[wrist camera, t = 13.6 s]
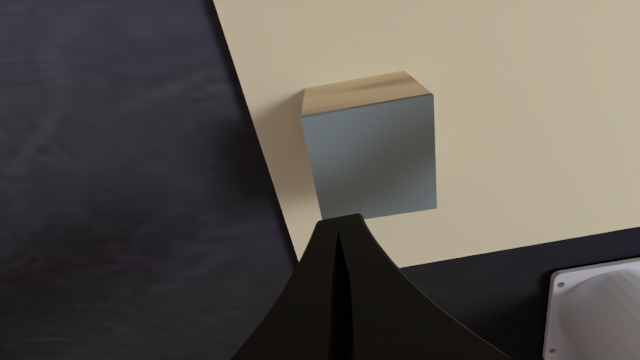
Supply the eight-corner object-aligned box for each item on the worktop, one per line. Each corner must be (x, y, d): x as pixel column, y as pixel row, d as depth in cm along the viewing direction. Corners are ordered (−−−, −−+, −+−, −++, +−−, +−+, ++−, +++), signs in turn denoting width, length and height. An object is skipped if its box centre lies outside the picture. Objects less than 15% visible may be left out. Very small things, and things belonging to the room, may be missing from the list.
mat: (643, 218, 22) (651, 224, 22) (306, 277, 24) (305, 283, 24) (731, -147, 14) (748, -153, 13) (213, -9, 16) (209, -10, 16)
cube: (323, 225, 15) (322, 175, 20) (436, 208, 15) (410, 160, 20) (300, 118, 13) (305, 88, 18) (433, 95, 13) (404, 70, 17)
